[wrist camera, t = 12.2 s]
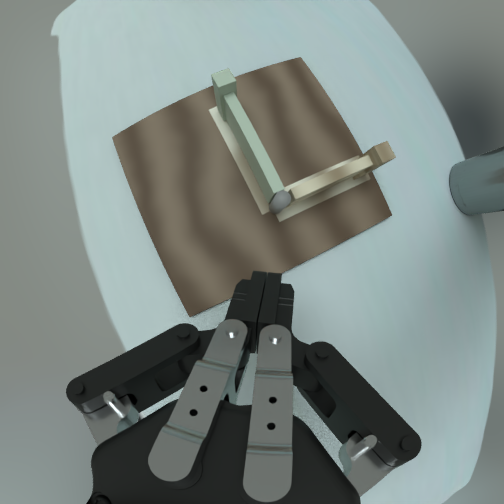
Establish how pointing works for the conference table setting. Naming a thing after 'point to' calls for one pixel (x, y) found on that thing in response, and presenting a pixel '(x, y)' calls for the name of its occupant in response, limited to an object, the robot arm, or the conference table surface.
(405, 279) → the conference table surface
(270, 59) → the conference table surface
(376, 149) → the fixed fence panel
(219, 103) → the hinged fence panel
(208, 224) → the board
